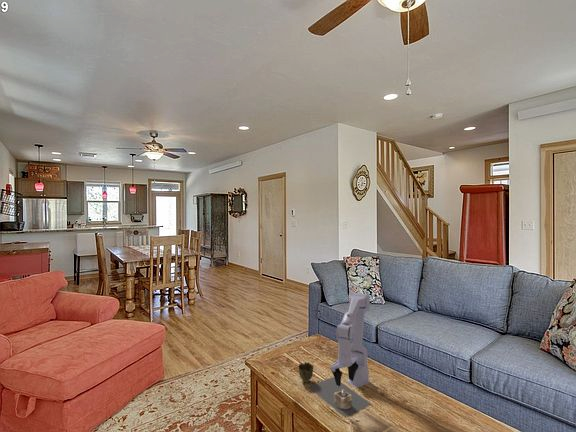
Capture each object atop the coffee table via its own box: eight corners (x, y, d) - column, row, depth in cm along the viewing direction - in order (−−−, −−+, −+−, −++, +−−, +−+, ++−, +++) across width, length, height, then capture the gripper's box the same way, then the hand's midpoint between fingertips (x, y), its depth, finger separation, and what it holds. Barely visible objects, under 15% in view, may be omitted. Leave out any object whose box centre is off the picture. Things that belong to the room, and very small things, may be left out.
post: (343, 398, 137) (343, 385, 137) (354, 406, 131) (354, 393, 131) (332, 403, 133) (332, 390, 133) (342, 412, 127) (342, 398, 127)
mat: (333, 377, 154) (333, 376, 154) (372, 405, 132) (372, 404, 132) (308, 387, 146) (308, 386, 146) (345, 418, 124) (345, 417, 124)
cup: (301, 387, 146) (301, 370, 146) (296, 378, 153) (296, 363, 153) (315, 384, 148) (315, 368, 148) (310, 376, 155) (310, 361, 155)
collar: (343, 397, 136) (343, 389, 136) (351, 404, 131) (351, 395, 131) (334, 401, 133) (334, 392, 133) (342, 408, 129) (342, 399, 128)
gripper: (350, 344, 140) (350, 373, 140) (326, 352, 132) (326, 383, 132) (361, 350, 134) (361, 380, 134) (336, 359, 126) (336, 391, 126)
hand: (344, 382), depth 133 cm, fingers open, 7 cm apart
